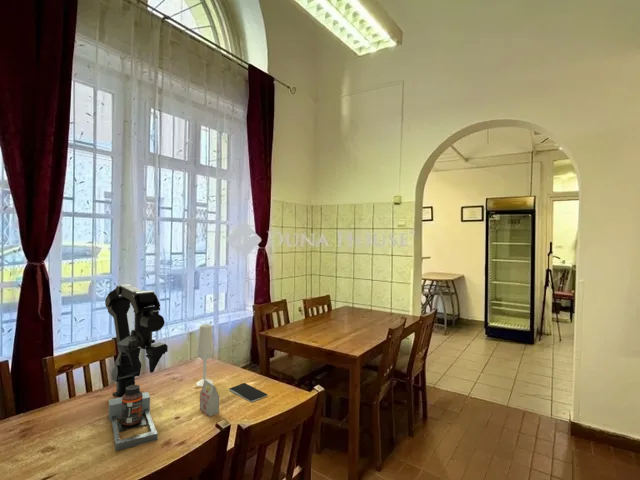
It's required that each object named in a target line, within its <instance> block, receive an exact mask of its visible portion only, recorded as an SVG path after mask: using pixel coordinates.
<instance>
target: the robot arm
mask: <svg viewBox="0 0 640 480" xmlns="http://www.w3.org/2000/svg"><path fill="white" fill-rule="evenodd" d="M104 301H105V303H104V306H105V307H106V308H107V312H108V314H109V315H111V317H113V324H114V329H115V336H116V337H115V339H116V345H117V350H118V355H117V358H116V359H115V362H114V365H115V366H114V367H113V369H112V372H111V379H112V380H113V382H115V383H116V391H115V392H112V396H116V397H117V398H120V397H123V395H124V394H125V393H126V387H128V386H130V385H136V377H140V374H141V370H142V362H141V360H140V353H141V349H142V350H145V357H146V358H147V359H148V367H149V373H150V374H153V373H154V372H155V370H156V367H157V365H158V364H159V361H160V360H161V358H162V356H164V355H165V354H166V353H167V352H168V351H169V350H168V348H169V347H168V346H169V345H167V344H166V343H164V342H157V343H156V342H155V341H156V339H153V332H154V333H155V332H159V331H160V330H162V329H163V327H164V325H165V321H166V320H165V319H164V317H163V315H161V314H160V313H159V312H160V311H161V304H160V301H159V299H158V296H157V294H156V293H155V291H153V290H146V289H145V290H141V289H140V288H137V287H135V286H133V285H132V284H130V283H128V284H127V283H126V284H118V285H116V286H115V289H113V290H111V291H110V292H108V294H107V296H106V298H105V300H104ZM131 306H132V308H133V313H134V329H131V330H130V326H129V319H128V312H129V310H130V308H131ZM130 331H131V332H130Z"/></svg>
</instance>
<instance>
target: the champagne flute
mask: <svg viewBox="0 0 640 480" xmlns="http://www.w3.org/2000/svg"><path fill="white" fill-rule="evenodd" d="M198 329H199V330H198V337H197V347H196V355H197V356H198V357H199V358H200V359H201V360H203V362H202V363H203V364H202V365H203V368H202V369H203V370H202V371H203V372H202V373H203V375H202V376H203V377H202V379H200V380H198V381H196V383H195V385H196V386H197V387H203V384H204V381H205V380H207V381H208V382H210V383H211V384H213V382H214V381H213V380H211V379H209V378H208V377H207V361H208V360H209V359H210V358H211V357H212V355H213V354H214V341H213V326H212V324H209V323H205V324H200V325H199V327H198Z"/></svg>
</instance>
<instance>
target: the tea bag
mask: <svg viewBox="0 0 640 480" xmlns="http://www.w3.org/2000/svg"><path fill="white" fill-rule="evenodd" d="M199 411H201V412H202V413H203V414H205V415H206V416H207V417H212V416H215V415H218V414H219V413H220V395H219V393H218V391H217V388H216V386H215V385H214V384H213V383H212V384H211V383H210V382H208V381H207V380H205V381H204V384H203V386H201V390H200V392H199Z"/></svg>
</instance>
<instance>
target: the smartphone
mask: <svg viewBox="0 0 640 480" xmlns="http://www.w3.org/2000/svg"><path fill="white" fill-rule="evenodd" d="M228 391H229V392H230V393H232V394H233V395H236V396H238V397H240V398H241V399H244V400H246V401H248V402H250V403H254V401H255V402H256V401H260V400H262V399H263V397H264V398H266V397H265V396H267V397H268V393H266V392H264V391H261V390H259V389H258V388H256V387H253V386H252V385H251V384H250V385H249V384H247V383H245V382H244V383H241V384H238V385H237V384H236V385H235V386H232V387H229V388H228ZM261 398H262V399H261Z"/></svg>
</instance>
